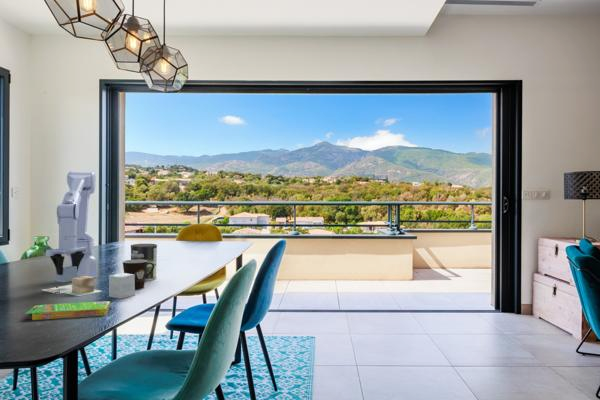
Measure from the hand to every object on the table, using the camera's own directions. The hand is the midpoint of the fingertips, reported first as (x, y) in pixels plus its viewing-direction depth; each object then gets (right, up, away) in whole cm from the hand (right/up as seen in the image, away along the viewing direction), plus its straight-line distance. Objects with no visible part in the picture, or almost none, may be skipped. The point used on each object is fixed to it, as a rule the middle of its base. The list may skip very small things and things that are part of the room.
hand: (67, 273), depth 154 cm
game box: (+18, -7, -32) cm, 37 cm away
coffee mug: (+25, -6, +3) cm, 26 cm away
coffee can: (+21, -6, +20) cm, 29 cm away
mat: (+9, -6, -6) cm, 12 cm away
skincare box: (+24, -6, -10) cm, 27 cm away
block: (+9, -6, -5) cm, 12 cm away
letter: (0, -6, 0) cm, 6 cm away
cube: (0, -3, 0) cm, 3 cm away
